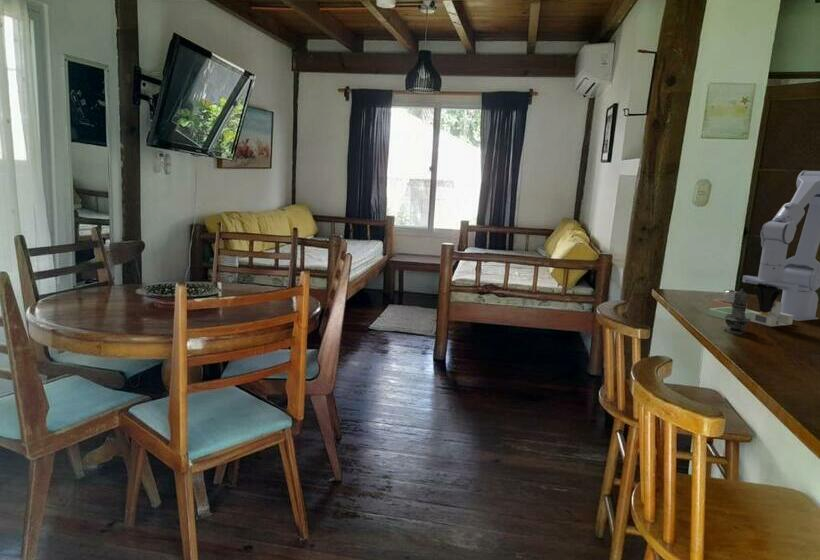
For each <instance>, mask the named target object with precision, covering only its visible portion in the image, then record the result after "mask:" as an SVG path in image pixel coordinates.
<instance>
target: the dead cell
mask: <svg viewBox="0 0 820 560" xmlns="http://www.w3.org/2000/svg"><path fill="white" fill-rule="evenodd" d="M736 292H737V291H736V290H733V289H728V290H727V289H726V290H725V289H724V290H723V302H724V303H728V304H733V303H734V296H735V293H736Z"/></svg>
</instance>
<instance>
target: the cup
mask: <svg viewBox="0 0 820 560" xmlns="http://www.w3.org/2000/svg"><path fill="white" fill-rule="evenodd" d="M746 305H747V307H748V303H746ZM722 307H733V305H732V304H728V303H724V302H723V299H711V304H710V308H722ZM747 307H746V309H748V308H747Z"/></svg>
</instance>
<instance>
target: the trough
mask: <svg viewBox="0 0 820 560" xmlns="http://www.w3.org/2000/svg"><path fill="white" fill-rule="evenodd" d="M731 312H732V307H722V308H711V307H710V308H709V307H708V308H707V311H706V315H707V316H710V317H714V318H717V319H720V320H724V321H726V319H725V317H726V316H729V315H731ZM751 312H757V311H756V310H751V309H748V308H746V310H745V317H746V318H747V319H749V320H750V318H751Z"/></svg>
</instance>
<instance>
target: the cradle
mask: <svg viewBox="0 0 820 560" xmlns="http://www.w3.org/2000/svg"><path fill="white" fill-rule="evenodd" d="M793 316H794V315H789V314H785V313H781V312H780V318H779V324H776V319H777V317H775V316H771V315H768V312H760V311H756V312H751V318H750V319H749V320H750V322H753V323H757V324H759V325H764V326H767V327H782V326H789V325H790V326H791V325H793Z"/></svg>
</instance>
